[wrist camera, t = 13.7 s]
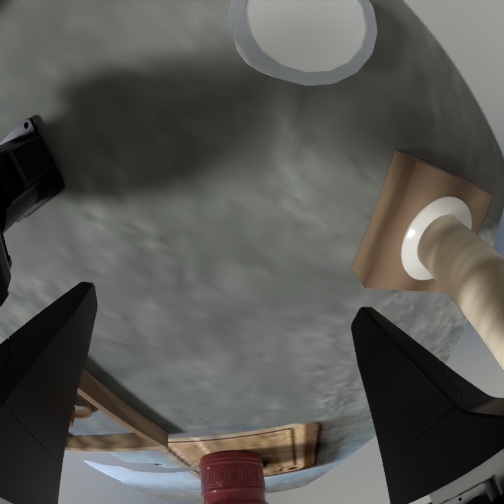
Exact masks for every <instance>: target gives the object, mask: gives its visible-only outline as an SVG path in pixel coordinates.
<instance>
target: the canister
mask: <svg viewBox="0 0 504 504" xmlns="http://www.w3.org/2000/svg"><path fill="white" fill-rule="evenodd" d="M199 467H200V468H199V470H200V472H201V490H202V493H201V496H202V497H203V498H204V504H269V503H267V502H266V499H265V493H266V492H267V490H266V487H265V481H264V475H263V464H262V460H261V458H260V456H259V455H258V454H255V453H252V452H244V451H228V452H218V453H213V454H209V455H206V456H204V457H202V458H201V459H200V464H199Z"/></svg>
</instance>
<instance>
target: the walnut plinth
mask: <svg viewBox="0 0 504 504" xmlns="http://www.w3.org/2000/svg"><path fill="white" fill-rule="evenodd" d="M492 199H493V195H491V194H489V193H488V192H486V191H485V190H483V189H482V188H480V187H478V186H477V185H475V184H473V183H471V182H469V181H467V180H465V179H463V178H461V177H459V176H457V175H454V174H452V173H450V172H448V171H445V170H443V169H441V168H439V167H436V166H434V165H432V164H429V163H427V162H424V161H422V160H419V159H417V158H414V157H412V156H409V155H407V154H404V153H401V152H399V151H396V150H395V151H394V155H393V158H392V161H391V164H390V167H389V170H388V173H387V176H386V179H385V182H384V185H383V188H382V190H381V193H380V196H379V199H378V202H377V204H376V207H375V210H374V212H373V215H372V218H371V220H370V223H369V225H368V228H367V231H366V233H365V236H364V238H363V241H362V243H361V246H360V248H359V250H358V253H357V255H356V258H355V260H354V262H353V265H352V269H353V270H354V272H355V273H356V275H357V276H358V278H359V280H360V281H361V283H362V284H363V286H364V288H376V289H392V290H410V291H429V292H446V291H445V290H444V289H443V288H442V287H441V285H440V284H439V283H438V282H437V281H436V279H435V278H434V277H433V276H432V275H431V274H430V273H429V271H428V270H427V269H426V268H425V267H424V266H423V265H422V264H421V262H420V261H419V259H418V256H417V248H418V243H419V240H420V238H421V236H422V234H423V232H424V230H425V229H426V228H427V227H428V225H429V224H430V223H431V222H432V221H434V220H435V219H436V218H438V217H440V216H443V215H452V216H454V217H455V218H457V219H458V220H459V221H461V222H462V223H463V224H464V225H466V226H467V227H468V228H469V229H470V230H472V231H473V232H474V233H475V234H476V235H477V234H478V232H479V230H480V228H481V225H482V223H483V221H484V218H485V216H486V214H487V211H488V209H489V206H490V204H491V201H492Z"/></svg>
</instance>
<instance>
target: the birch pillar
mask: <svg viewBox="0 0 504 504" xmlns="http://www.w3.org/2000/svg"><path fill="white" fill-rule="evenodd" d="M417 256H418V259H419V261H420V262H421V264H422V265H423V266H424V267H425V268H426V269H427V270H428V271H429V273H430V274H431V275H432V276H433V277H434V278H435V279H436V281H437V282H438V283H439V284H440V285H441V287H442V288H443V289H444V290H445V291H446V293H447V294H448V295H449V296H450V297H451V299H452V300H453V301H454V302H455V304H456V305H457V306H458V307H459V309H460V310H461V311H462V312H463V314H464V315H465V316H466V318H467V319H468V320H469V322H470V323H471V324H472V326H473V327H474V328H475V329H476V331H477V332H478V334H479V335H480V336H481V338H482V339H483V340H484V342H485V343H486V345H487V346H488V347H489V349H490V350H491V352H492V353H493V355H494V356H495V358H496V359H497V361H498V362H499V364H500V365H501V367H502V368H503V370H504V258H502V257H501V256H500V255H499V254H498V253H497V252H496V251H495V250H494V249H493V248H492V247H490V246H489V245H488V244H487V243H486V242H485V241H484V240H482V239H481V238H480V237H479V236H478V235H476V234H475V233H474V232H473V231H472V230H470V229H469V228H468V227H467V226H466V225H464V224H463V223H462V222H461V221H459V220H458V219H457V218H455V217H454V216H452V215H443V216H440V217H438V218H436V219H435V220H434V221H432V222H431V223H430V224H429V225H428V227H427V228H426V229H425V230H424V232H423V234H422V236H421V238H420V240H419V243H418V248H417Z"/></svg>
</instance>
